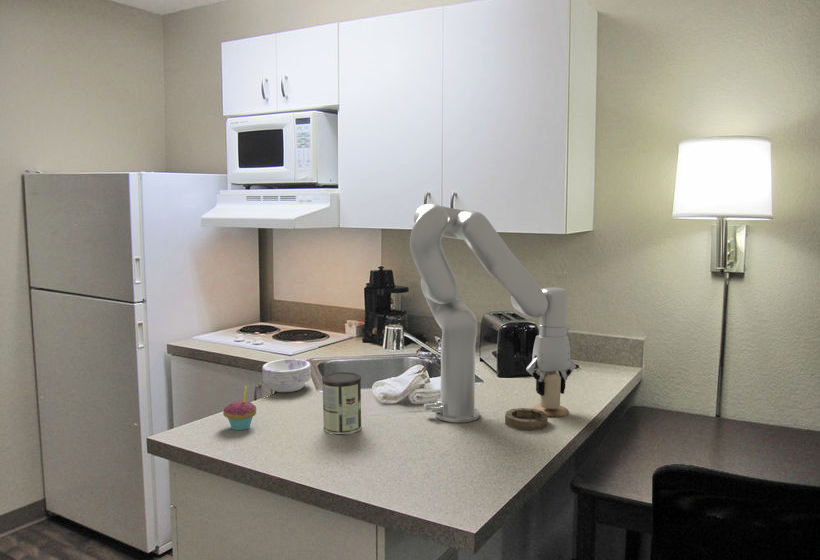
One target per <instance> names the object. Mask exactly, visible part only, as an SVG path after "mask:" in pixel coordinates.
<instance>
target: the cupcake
mask: <svg viewBox="0 0 820 560" xmlns="http://www.w3.org/2000/svg"><path fill="white" fill-rule="evenodd" d="M243 392H244V393H243V399H241V400H237V401H233V402H231V403H229V404H227V405H226V407H224V408H223V411H222V415H223V416H224V417H225V418H227V420H228V422H229V424H230V427H231V429H232V430H233V431H245V430H248V429H249V428H250V427H251V424H252V420H253V418H254V417H255V416H256V414H257V407H256V405H255V404H254V403H253V402H250V401H247V393H248V383H246V385H245V386H244V390H243Z"/></svg>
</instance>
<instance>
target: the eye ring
mask: <svg viewBox="0 0 820 560" xmlns="http://www.w3.org/2000/svg"><path fill="white" fill-rule="evenodd" d="M504 418H505V419H504V423H505V425H507V426H508V427H510V428H512V429H515V430H519V431H528V432H532V431H542V430H543V429H545V428H547V427H548V424H549V423H548V421H549V420H548V419H549V417H548V414H546V413H545V412H543V411H540V410H536V409H533V408H530V407H529V408H528V407H520V408H519V407H518V408H511V409H509V410H506V412H505V415H504Z"/></svg>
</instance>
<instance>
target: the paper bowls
mask: <svg viewBox="0 0 820 560" xmlns="http://www.w3.org/2000/svg"><path fill="white" fill-rule="evenodd" d="M311 366H312V365H311V363H310V362H309V361H307V360H304V359H299V358H283V359H277V360H276V359H275V360H273V361H269V362H266V363H264V364H263V365H262V367H261V368H262V369H261V371H262V372H261V373H262V382H263V383H264V384H265V385H268V386H269V388H270V390H271V391H273V392H276V393H293V392H296V391H300V390H302V389H303V388H304V386H305V384H306V383H307V382H309V381H310V380H311V379H312V370H311Z"/></svg>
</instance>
